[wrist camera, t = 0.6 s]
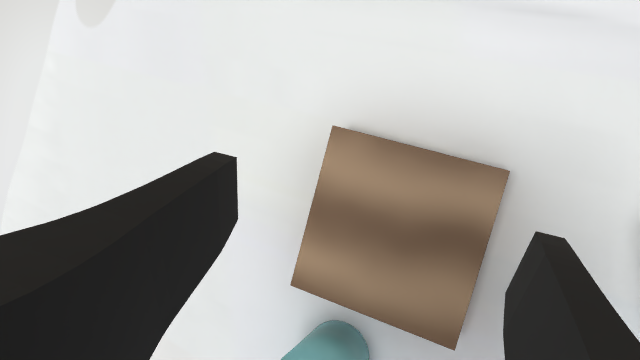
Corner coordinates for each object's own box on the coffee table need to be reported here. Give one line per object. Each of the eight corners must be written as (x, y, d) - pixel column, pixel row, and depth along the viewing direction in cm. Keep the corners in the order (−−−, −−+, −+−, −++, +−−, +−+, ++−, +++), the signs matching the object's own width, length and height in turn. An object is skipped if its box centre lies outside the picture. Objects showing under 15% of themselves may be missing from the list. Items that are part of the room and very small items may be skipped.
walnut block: (458, 330, 33) (454, 350, 29) (310, 274, 37) (290, 285, 33) (507, 171, 32) (509, 171, 28) (348, 130, 36) (332, 125, 32)
